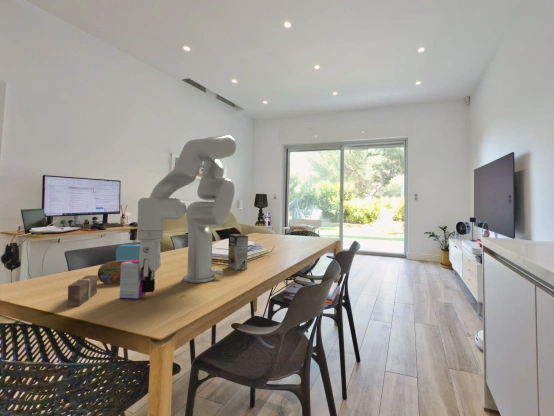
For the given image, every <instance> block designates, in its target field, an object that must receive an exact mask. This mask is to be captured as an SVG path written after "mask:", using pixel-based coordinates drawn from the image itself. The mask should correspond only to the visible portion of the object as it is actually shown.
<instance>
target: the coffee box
mask: <svg viewBox="0 0 554 416" xmlns="http://www.w3.org/2000/svg"><path fill="white" fill-rule="evenodd" d="M248 248H249V236H248V235H245V234H240V233H229V234H228V256H227V259H228V262H227V264H228V265H227V267H228V266H229V267H228V268H230V267H231V269H232V268H233V270H234V269H235V271H238V270H237V269H242V270H244V269H243V268H247V269H248V254H249V253H248V252H249V249H248Z"/></svg>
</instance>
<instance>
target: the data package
mask: <svg viewBox="0 0 554 416" xmlns="http://www.w3.org/2000/svg"><path fill="white" fill-rule="evenodd" d="M139 254H140V243H137V244H121V245H119V246H117V247H116V250H115V261H123V260H139Z"/></svg>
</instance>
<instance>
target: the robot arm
mask: <svg viewBox="0 0 554 416" xmlns="http://www.w3.org/2000/svg"><path fill="white" fill-rule="evenodd" d="M236 150H237V143H236V140H235V139H234V137H232V136H231V135H219V136H218V135H217V136H210V137H205V138H198V139H197V138H196V139H190V140H188V141H187V142H186V143H185V144H184V145H183V147H182V150H181V151H180V154H179V156H178V159H177V161H176V162H175V165H174V167H173V168H172V170H171V171H170V172H168V174H166V175H165V176H164V177H163V178H162V179H161V180H159V182H158V183H157V184H156V185H155V187H154V188H153V189H152V191H151V193H150V195H149V197H141V198H140V199H139V200H138V201H137V226H136V227H137V232H136V235H137V237H136V240H137V241H138V242H140V243H139V244H140V254H139V271H140V272H143V292H146V293H153V292H154V291H155V288H156V287H155V286H156V281H155V280H156V278H155V275H156V272H157V271H158V270H159V269H160V267H161V265H162V264H161V241H162V240H163V234H164V233H163V232H164V230H163V229H164V228H163V227H164V226H163V225H164V220H175V221H176V220H179V219H181V218H183V217H184V216H185V217H186V223H187V274H185V275H183V277H182V278H183V279H182V280H183V281H184V282H187V283H194V284H195V283H196V284H198V283H209V282H211V281H214V280H215V279H216V275H223V274H224V270H223V269H220V268H213V233H212V230H211V227H210V226H213V227H219V226H223V225H224V224H225V223H226V222H228V219H229V216H230V214H231V213H230V211H231V209H232V206H233V205H232V204H233V203H234V202H233V201H234V198H235V193H236V191H235V190H236V189H235V184H234V182H233V181H232V180H231V179H230V178H227V177H224V174H225V173H224V172H225V171H224V166H223V165H222V163H221V161H220V160H222V159H225V158H229V157H231V156H233V155H234V154H235V153H236ZM202 163H203V164H204V165H203V171H202V174H201V177H200V180H199V183H198V187H197V192H196V193H197V194H196V195H197V196H198V198H199V199H201V200H202V201H201V200H200V201H194V202H192V203H190V204H188V206H187V205H186V203H185V202H184V201H183V200H182V199H180V198H176V197H175V198H172V197H171V196H172V195H173V194H174V193H175V192H177V191H178V190H179V189H182V188H185V187H187V186H188V185H190V184H192V183H193V182H194V181H196V178H197V175H198V173H199V171H200V167H201V166H202ZM142 267H143V268H142Z"/></svg>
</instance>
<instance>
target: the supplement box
mask: <svg viewBox="0 0 554 416" xmlns="http://www.w3.org/2000/svg"><path fill="white" fill-rule="evenodd" d="M142 268H143V267H142ZM146 293H147V292H143V272H140V271H139V260H129V261H126V262H124V263H121V277H120V283H119V300H120V301H121V300H123V301H124V300H127V301H129V300H131V301H137V300H138V299H140V298H142V297H144V296H145V295H146Z"/></svg>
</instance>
